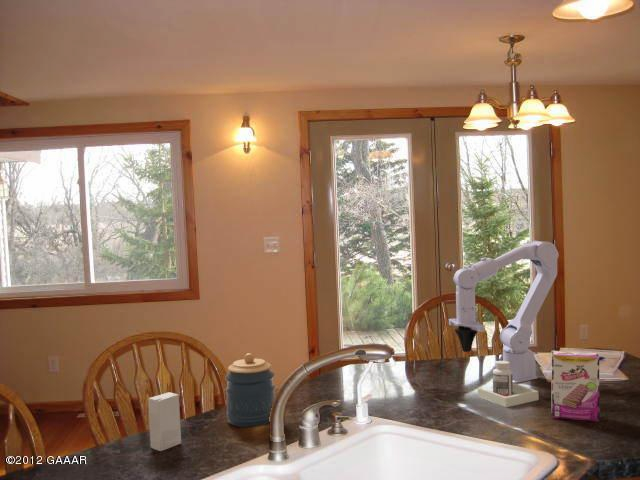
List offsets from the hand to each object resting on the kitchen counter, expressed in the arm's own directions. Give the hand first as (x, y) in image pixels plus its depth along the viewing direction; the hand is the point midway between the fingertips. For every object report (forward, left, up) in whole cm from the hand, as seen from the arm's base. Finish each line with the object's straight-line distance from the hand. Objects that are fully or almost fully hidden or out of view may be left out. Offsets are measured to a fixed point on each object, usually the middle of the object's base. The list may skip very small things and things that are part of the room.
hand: (466, 351), depth 189 cm
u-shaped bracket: (+2, +19, -9) cm, 21 cm away
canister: (+70, -3, -10) cm, 71 cm away
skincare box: (+94, +4, -10) cm, 95 cm away
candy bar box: (-1, +40, -10) cm, 41 cm away
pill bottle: (+2, +18, -10) cm, 20 cm away
